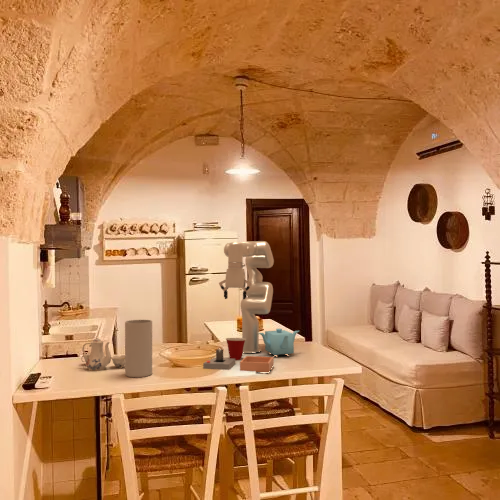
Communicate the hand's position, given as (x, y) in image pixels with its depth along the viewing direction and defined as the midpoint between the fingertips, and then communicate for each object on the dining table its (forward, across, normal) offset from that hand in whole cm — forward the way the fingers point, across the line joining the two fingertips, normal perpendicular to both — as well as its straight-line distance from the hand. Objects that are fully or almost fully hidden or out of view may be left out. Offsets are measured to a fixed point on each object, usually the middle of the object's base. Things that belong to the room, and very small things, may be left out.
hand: (235, 298), depth 252 cm
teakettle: (+32, -20, -25) cm, 46 cm away
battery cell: (+33, +5, +11) cm, 35 cm away
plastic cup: (+33, +1, -7) cm, 34 cm away
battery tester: (+34, +5, +11) cm, 36 cm away
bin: (+34, -14, +11) cm, 38 cm away
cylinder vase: (+35, +39, +30) cm, 61 cm away
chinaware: (+35, +64, +20) cm, 76 cm away
